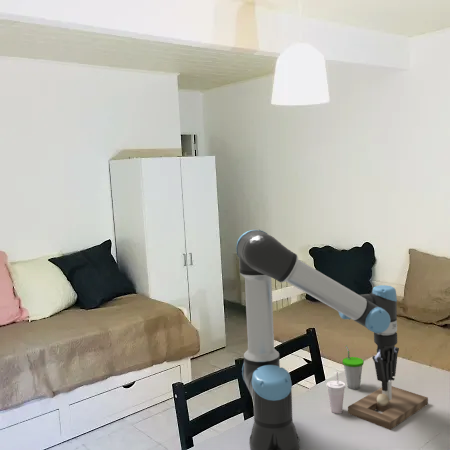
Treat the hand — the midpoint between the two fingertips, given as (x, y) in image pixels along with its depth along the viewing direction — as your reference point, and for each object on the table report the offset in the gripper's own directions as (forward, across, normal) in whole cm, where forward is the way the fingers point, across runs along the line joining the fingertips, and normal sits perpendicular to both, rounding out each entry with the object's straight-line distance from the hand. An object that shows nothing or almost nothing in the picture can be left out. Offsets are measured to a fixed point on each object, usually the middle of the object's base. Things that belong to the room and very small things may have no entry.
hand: (387, 398), depth 177 cm
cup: (+4, +8, +19) cm, 21 cm away
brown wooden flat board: (+4, +1, 0) cm, 4 cm away
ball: (-1, -3, 0) cm, 3 cm away
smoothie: (+4, -12, +12) cm, 18 cm away
